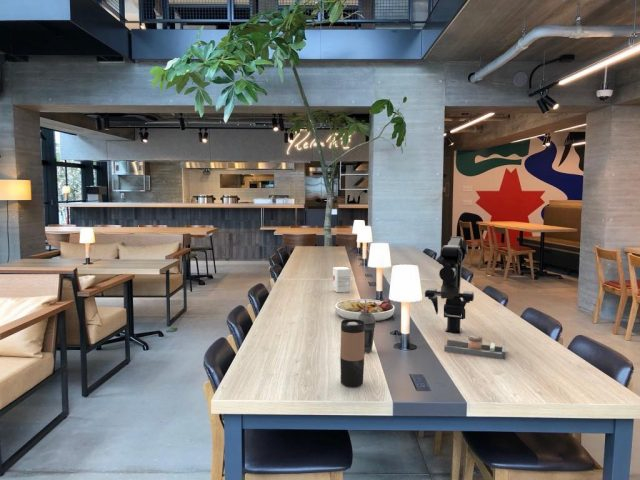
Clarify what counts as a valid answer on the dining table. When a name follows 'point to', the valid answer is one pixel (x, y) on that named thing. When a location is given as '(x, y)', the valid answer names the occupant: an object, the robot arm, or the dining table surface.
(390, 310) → the bowl
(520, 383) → the dining table surface
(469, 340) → the jar
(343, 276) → the supplement box
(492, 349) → the pusher plate
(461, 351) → the lane
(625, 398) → the dining table surface
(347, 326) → the travel mug
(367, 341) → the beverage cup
